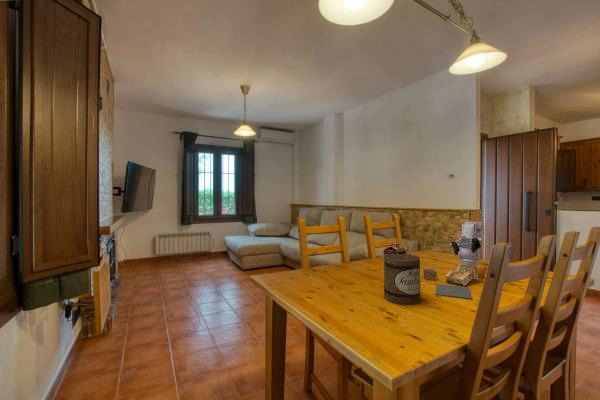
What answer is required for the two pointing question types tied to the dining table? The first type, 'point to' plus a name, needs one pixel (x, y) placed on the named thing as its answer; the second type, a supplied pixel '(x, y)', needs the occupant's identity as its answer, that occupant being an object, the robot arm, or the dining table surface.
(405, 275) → the wooden container
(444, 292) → the mat
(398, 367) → the dining table surface
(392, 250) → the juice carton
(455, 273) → the candy box
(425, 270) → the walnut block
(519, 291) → the dining table surface
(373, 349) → the dining table surface
